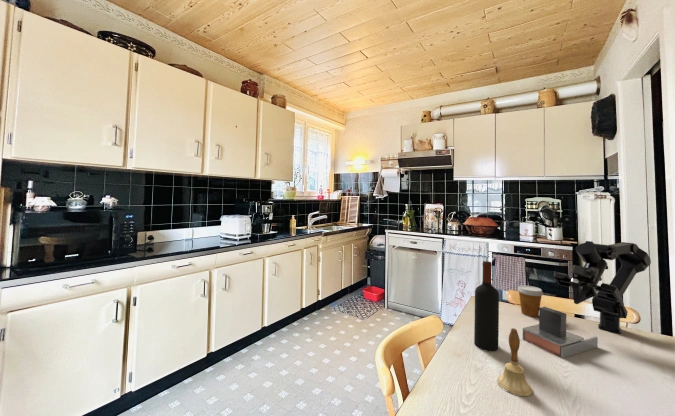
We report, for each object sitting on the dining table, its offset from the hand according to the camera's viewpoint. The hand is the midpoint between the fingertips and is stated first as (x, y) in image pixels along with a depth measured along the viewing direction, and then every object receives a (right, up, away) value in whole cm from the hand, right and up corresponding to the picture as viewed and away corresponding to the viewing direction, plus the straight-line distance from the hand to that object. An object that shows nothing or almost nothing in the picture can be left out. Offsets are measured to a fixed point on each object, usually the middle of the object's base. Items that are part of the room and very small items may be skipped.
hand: (575, 303), depth 101 cm
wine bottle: (-36, -14, -5) cm, 39 cm away
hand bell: (-40, -14, -26) cm, 50 cm away
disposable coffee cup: (-1, -13, +23) cm, 27 cm away
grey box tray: (-8, -14, -3) cm, 16 cm away
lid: (-12, -10, -4) cm, 16 cm away
